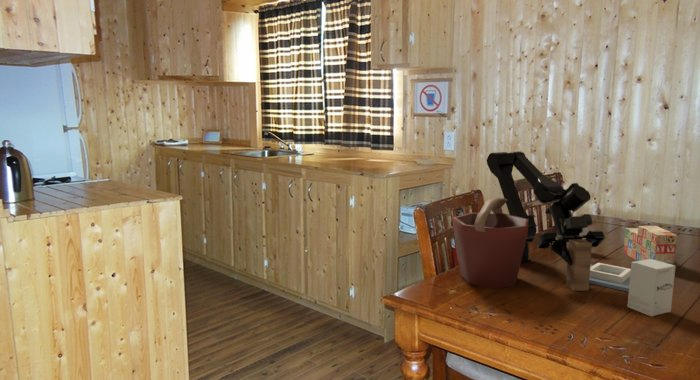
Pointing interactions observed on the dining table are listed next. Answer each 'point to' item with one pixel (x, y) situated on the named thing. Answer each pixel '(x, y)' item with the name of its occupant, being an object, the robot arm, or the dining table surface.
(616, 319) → the dining table surface
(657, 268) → the supplement box
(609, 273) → the socket
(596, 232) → the robot arm
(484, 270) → the bucket
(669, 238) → the stack of blocks
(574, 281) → the walnut pillar
